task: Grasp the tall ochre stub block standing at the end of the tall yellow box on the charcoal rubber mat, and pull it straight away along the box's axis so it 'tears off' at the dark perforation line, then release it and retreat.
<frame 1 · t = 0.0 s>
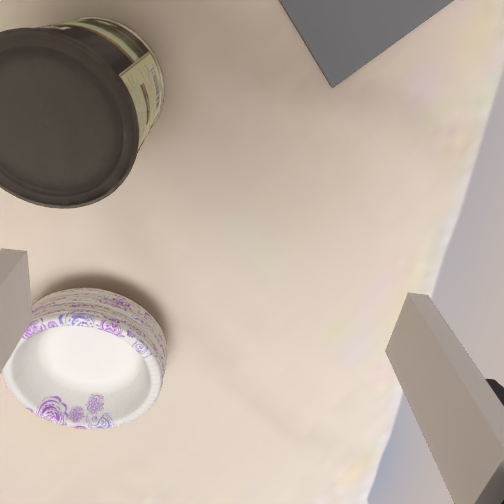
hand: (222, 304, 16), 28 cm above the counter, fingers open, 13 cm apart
coffee can: (103, 85, 39), on the counter
paper bowls: (101, 326, 51), on the counter
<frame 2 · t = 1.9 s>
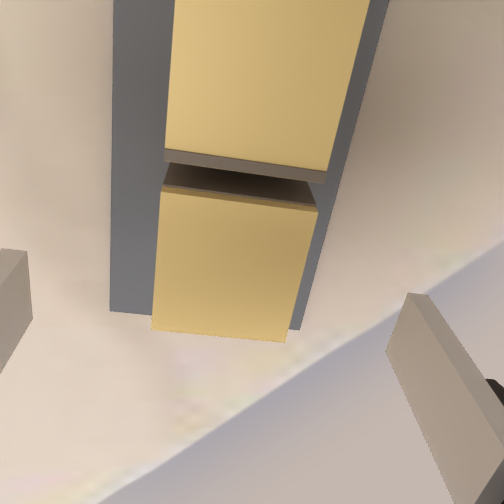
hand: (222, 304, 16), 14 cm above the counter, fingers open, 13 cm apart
tall yellow box: (251, 10, 24), resting on mat
stub: (229, 208, 22), point 7 cm above the counter, slide at 0.0 cm
mat: (231, 147, 28), on the counter
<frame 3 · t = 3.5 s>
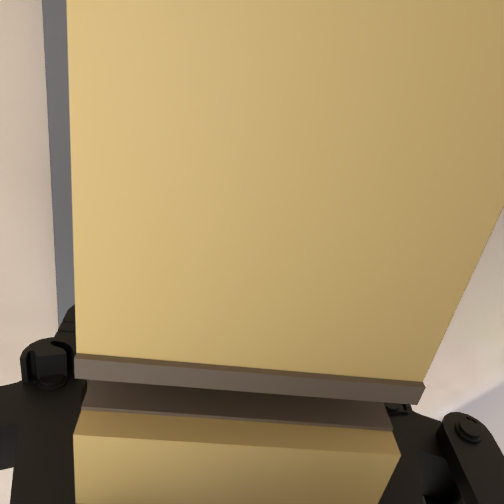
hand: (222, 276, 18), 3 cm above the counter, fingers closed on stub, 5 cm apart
tall yellow box: (253, 30, 16), resting on mat
stub: (222, 343, 14), point 7 cm above the counter, slide at 0.0 cm, touching gripper
mat: (225, 221, 20), on the counter
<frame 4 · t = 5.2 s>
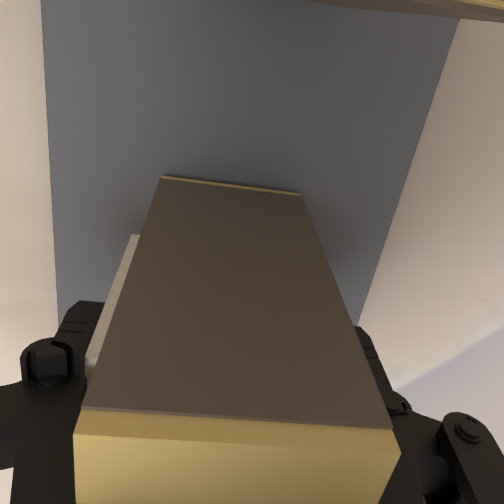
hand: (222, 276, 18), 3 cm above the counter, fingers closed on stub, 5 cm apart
stub: (222, 343, 14), point 7 cm above the counter, slide at 5.8 cm, touching gripper
mat: (245, 81, 17), on the counter
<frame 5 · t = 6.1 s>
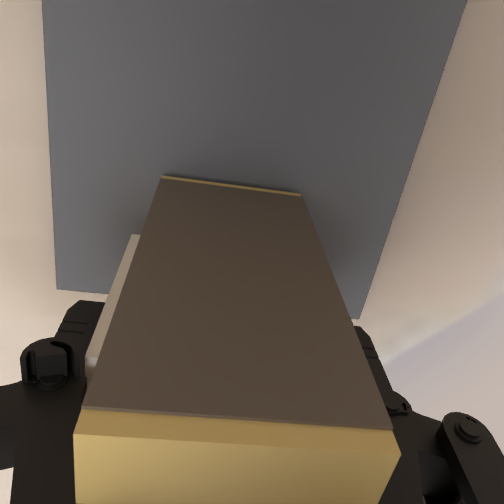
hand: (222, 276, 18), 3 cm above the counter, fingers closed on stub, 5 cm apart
stub: (222, 343, 14), point 7 cm above the counter, slide at 9.0 cm, touching gripper
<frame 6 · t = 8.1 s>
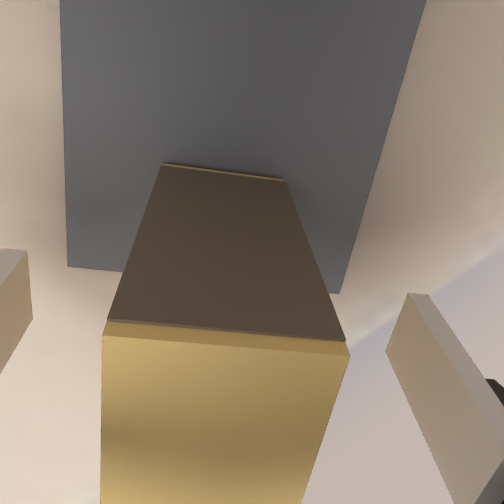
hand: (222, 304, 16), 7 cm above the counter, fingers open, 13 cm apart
stub: (215, 301, 17), point 7 cm above the counter, slide at 9.0 cm
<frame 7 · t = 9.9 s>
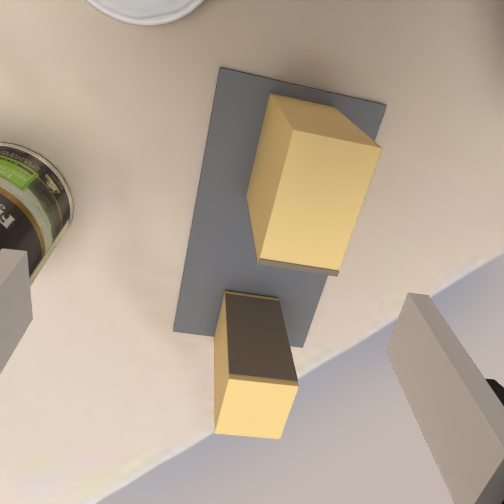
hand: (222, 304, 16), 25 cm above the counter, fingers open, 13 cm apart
tall yellow box: (287, 151, 40), resting on mat
coffee can: (12, 199, 40), on the counter
stub: (250, 358, 42), point 7 cm above the counter, slide at 9.0 cm
mat: (267, 228, 43), on the counter
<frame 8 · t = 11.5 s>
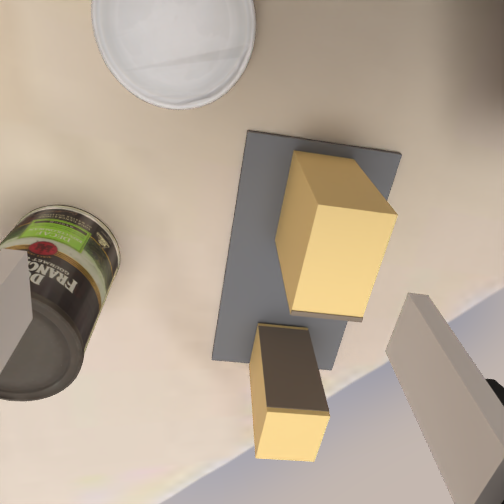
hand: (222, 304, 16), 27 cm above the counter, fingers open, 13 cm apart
tall yellow box: (311, 199, 43), resting on mat
coffee can: (67, 252, 45), on the counter
stub: (284, 386, 46), point 7 cm above the counter, slide at 9.0 cm
ramekin: (180, 21, 36), on the counter
mat: (295, 266, 47), on the counter
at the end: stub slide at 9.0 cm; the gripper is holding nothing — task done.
